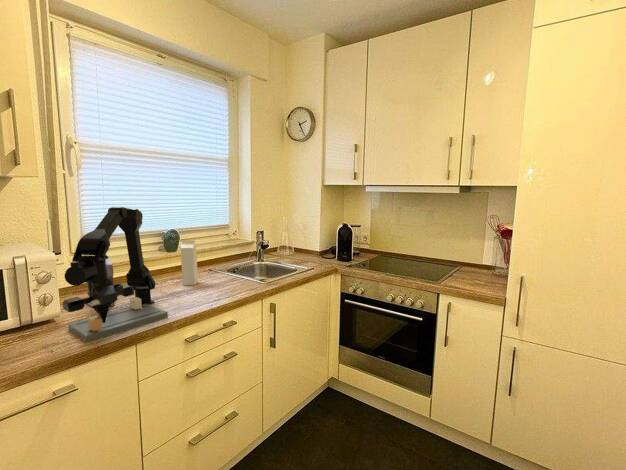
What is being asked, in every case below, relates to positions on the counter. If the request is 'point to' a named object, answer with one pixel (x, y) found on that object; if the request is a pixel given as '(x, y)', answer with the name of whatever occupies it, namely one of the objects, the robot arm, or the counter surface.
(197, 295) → the counter surface
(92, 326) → the copper slider
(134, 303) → the cream slider
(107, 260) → the striped narrow carton
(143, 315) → the panel
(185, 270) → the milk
